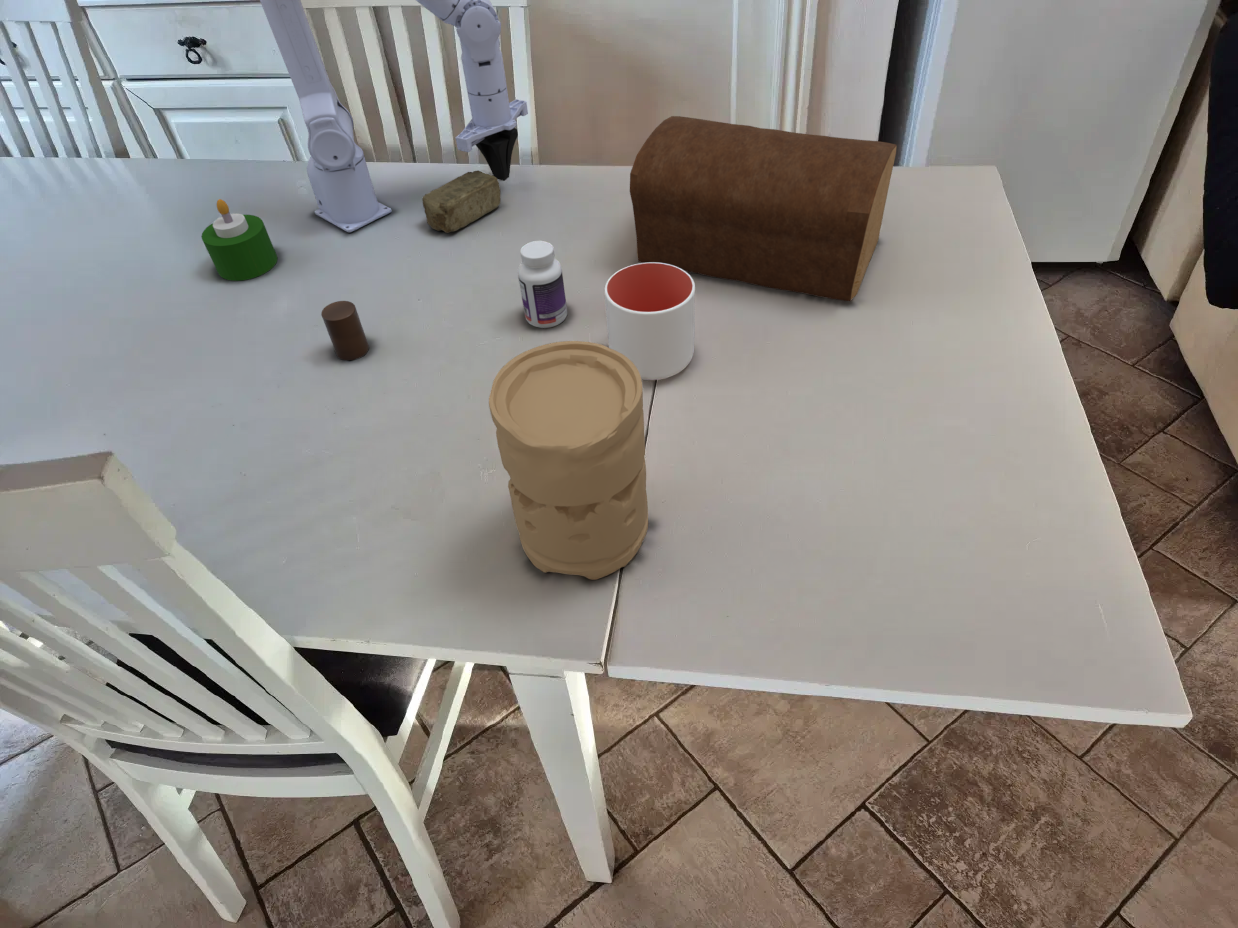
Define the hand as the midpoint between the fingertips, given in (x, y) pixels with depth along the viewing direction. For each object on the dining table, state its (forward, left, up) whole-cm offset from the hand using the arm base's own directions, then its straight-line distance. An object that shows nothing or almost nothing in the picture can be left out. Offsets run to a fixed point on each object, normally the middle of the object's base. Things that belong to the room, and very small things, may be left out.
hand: (501, 177), depth 126 cm
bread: (+42, +9, -2) cm, 43 cm away
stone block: (+2, -9, -2) cm, 10 cm away
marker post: (+16, -39, -2) cm, 42 cm away
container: (+58, -41, -2) cm, 71 cm away
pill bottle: (+30, -19, -2) cm, 36 cm away
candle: (-13, -37, -2) cm, 40 cm away
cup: (+46, -17, -2) cm, 49 cm away
